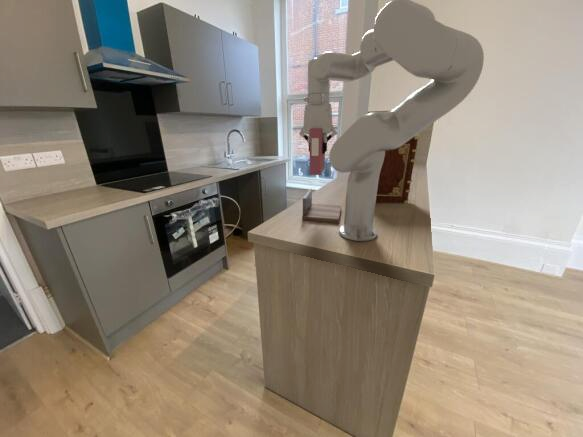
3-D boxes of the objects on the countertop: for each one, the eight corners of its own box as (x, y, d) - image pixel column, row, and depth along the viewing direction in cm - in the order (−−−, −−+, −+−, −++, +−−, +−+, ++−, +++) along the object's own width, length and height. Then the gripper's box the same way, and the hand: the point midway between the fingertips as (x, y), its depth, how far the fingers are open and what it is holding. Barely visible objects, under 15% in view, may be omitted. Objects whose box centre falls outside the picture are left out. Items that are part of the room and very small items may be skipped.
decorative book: (404, 198, 119) (415, 134, 108) (410, 203, 112) (422, 135, 101) (358, 198, 121) (363, 135, 110) (360, 203, 114) (367, 136, 103)
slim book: (320, 175, 89) (320, 128, 82) (309, 174, 90) (309, 129, 83) (324, 167, 99) (325, 126, 93) (315, 167, 100) (315, 126, 94)
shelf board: (338, 223, 91) (338, 219, 91) (302, 221, 95) (302, 216, 94) (341, 209, 106) (341, 205, 105) (309, 207, 109) (309, 203, 108)
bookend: (305, 215, 94) (305, 198, 92) (302, 215, 95) (302, 198, 92) (311, 204, 107) (312, 189, 104) (309, 204, 107) (309, 189, 105)
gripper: (292, 100, 84) (293, 154, 90) (342, 97, 80) (339, 155, 86) (297, 102, 90) (298, 152, 97) (343, 99, 86) (340, 152, 93)
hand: (317, 153), depth 92 cm, fingers closed on slim book, 4 cm apart
